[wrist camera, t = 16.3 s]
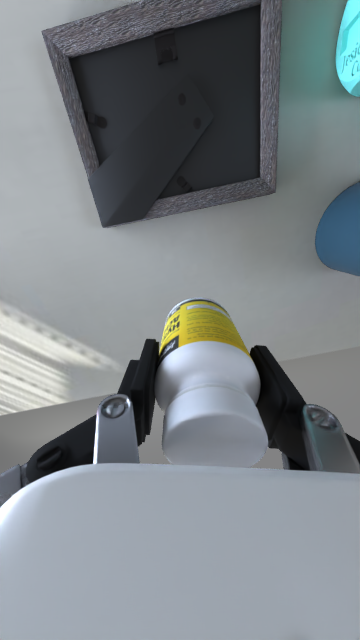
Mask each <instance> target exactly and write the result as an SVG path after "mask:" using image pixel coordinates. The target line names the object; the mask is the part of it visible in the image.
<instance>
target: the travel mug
mask: <svg viewBox="0 0 360 640" xmlns="http://www.w3.org/2000/svg"><path fill="white" fill-rule="evenodd" d="M315 245H316V251H317V254H318V256H319V258H320V260H321V261H322V262H323V263H324V264H325V265H326V266H327V267H329V268H331V269H334V270H338V271H342V272H345V273H349V274H353V275H357V276H360V182H358V183H356V184H354V185H352V186H350V187H349V188H347V189H346V190H345V191H343V192H342V193H341V194H340V195H339V196H337V197H336V198H335V200H334V201H333V202H332V203H331V204H330V205H329V207H328V208H327V209H326V211H325V212H324V214H323V216H322V218H321V220H320V222H319V225H318V228H317V232H316V239H315Z"/></svg>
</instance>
